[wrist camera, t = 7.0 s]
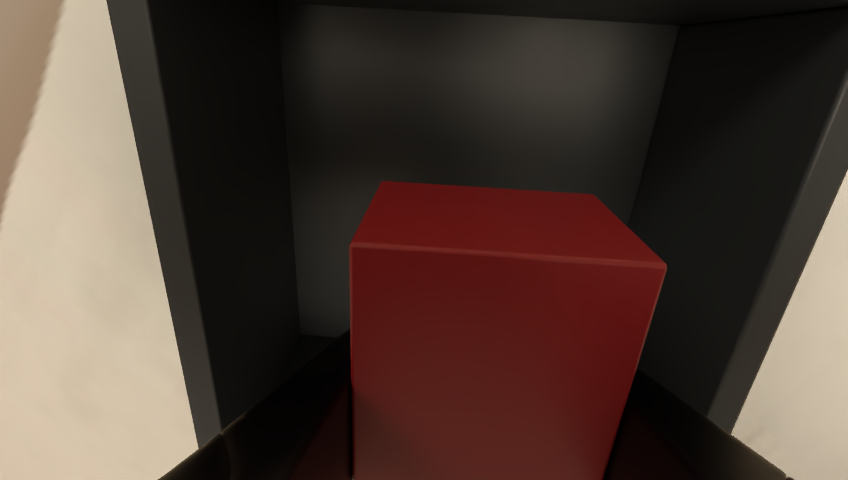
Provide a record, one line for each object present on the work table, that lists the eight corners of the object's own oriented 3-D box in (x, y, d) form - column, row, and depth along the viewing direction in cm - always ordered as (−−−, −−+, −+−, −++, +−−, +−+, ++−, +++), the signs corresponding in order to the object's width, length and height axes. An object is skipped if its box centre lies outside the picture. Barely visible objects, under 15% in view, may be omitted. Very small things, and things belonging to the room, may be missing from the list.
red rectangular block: (543, 433, 11) (577, 568, 8) (377, 421, 11) (352, 550, 8) (594, 193, 8) (670, 265, 5) (380, 179, 8) (348, 243, 5)
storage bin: (605, 362, 20) (690, 528, 13) (288, 339, 20) (206, 490, 13) (701, 0, 14) (948, -50, 7) (258, -24, 15) (85, -95, 8)
